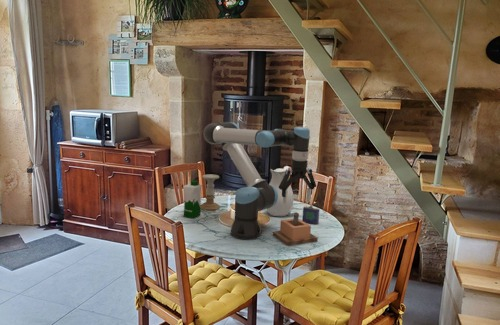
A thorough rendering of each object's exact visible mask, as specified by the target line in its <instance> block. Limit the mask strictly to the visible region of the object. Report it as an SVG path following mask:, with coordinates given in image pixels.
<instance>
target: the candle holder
mask: <svg viewBox="0 0 500 325" xmlns="http://www.w3.org/2000/svg"><path fill="white" fill-rule="evenodd" d="M201 178H202V179H204V180H206V182H207V184H206V185H205V186H206V190H205V196H204V197H205V200H206V201H205V202H202V203H201V211H208V212H212V211H218V210H219V209H220V208H221V207H220V206H221V205H220V204H218V203H217V202H215V199H216V197H215V189H214V187H215V184H214V182H215V180H217V179H220V176H219V175H218V174H212V173H211V174H203V175H202V176H201Z"/></svg>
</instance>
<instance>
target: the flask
mask: <svg viewBox="0 0 500 325" xmlns="http://www.w3.org/2000/svg"><path fill="white" fill-rule="evenodd" d="M313 206H314V204H310V206H308V205H305V206H303V207H302V219H301V220H302V221H303V222H305V223H307V224H309V225H316V226H317V225H319V224H320V223H319V222H320V208H318V207H317V208H316V207H313Z"/></svg>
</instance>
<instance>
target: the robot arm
mask: <svg viewBox="0 0 500 325" xmlns="http://www.w3.org/2000/svg"><path fill="white" fill-rule="evenodd" d="M204 127H205V128H204V129H203V138H204V140H205V141H206V142H207V144H208V143H209V144H210V145H220V146H221V149H222V150H223V151H226V152H227V153H228V155H229V157H230V158H231V159H232V162H233V164H234V165H235V168H236V169H237V171H238V173H239V174H240V176H241V177H242V179H243V181H244V183H245V185H246V186H244V187H240V188H238V189H237V190H236V192H235V197H234V219H233V222H232V225H231V227H230V236H231V237H233V238H235V239H238V240H246V241H247V240H256V239H258V238H260V237H261V226H260V223H259V220H258V219H259V212H261V211H264V210H267V209H268V208H270V207H272V206H274V205H275V204H276V202H277V198H278V193H277V190H276V189H275V187H273V186H271V185H269V183H268V182H267V180H266V179H264V178H262V177H261V175H260V173H259V172H258V170H257V169H256V167H255V165H254V164H253V162H252V161H251V158H250V157H249V155H248V153H247V152H246V150H245V148H244V147H243V145H247V146H256V147H260V148H270V147H278V146H290V147H292V154H291V158H292V160H291V169H290V170H286V171H285V175H284V177H283V179H282V181H281V183H280V185H279V189H281V190H282V197H283V203H284V204H287V195H288V191H287V189H288V187H289V186H290V185H292V184H293V182H294V181H296V180H299V179H303V181H304V183H305V184H306V186H307V188H306V194H305V195H306V197H305V200H306V202H308V203H311V200H312V199H311V198H312V197H311V196H312V195H313V190H314V189H315V188H317V184H316V180H315V178H314V175H313V169H311V168H308V163H309V162H308V160H309V159H308V158H309V146H310V139H311V137H310V135H311V133H310V132H311V131H310V128H308V127H306V126H305V127H304V126H303V127H302V126H296V127H294V128H293V130H289V129H288V130H287V129H283V128H275V129H273V130H263V129H249V128H246V129H245V128H240V126H239V125H238V124H237V123H235V122H230V121H225V122H211V123H209V124H207V125H206V126H204ZM288 178H289V179H288ZM287 180H288V181H287Z"/></svg>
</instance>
